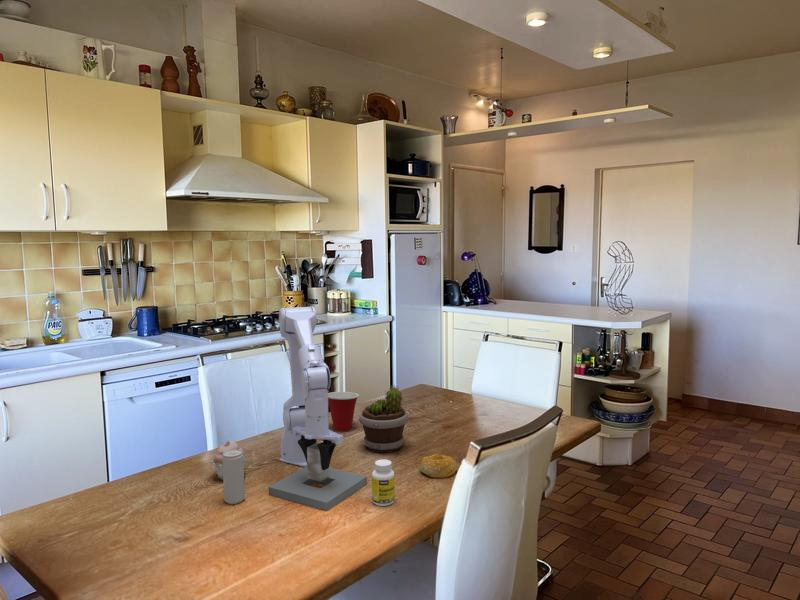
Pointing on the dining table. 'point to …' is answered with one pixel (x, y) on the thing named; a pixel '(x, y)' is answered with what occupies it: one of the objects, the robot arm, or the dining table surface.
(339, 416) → the plastic cup
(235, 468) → the beverage can
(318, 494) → the socket board
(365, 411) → the flowerpot
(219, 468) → the cupcake
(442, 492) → the dining table surface
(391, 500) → the supplement bottle
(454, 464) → the bagel
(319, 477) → the peg
